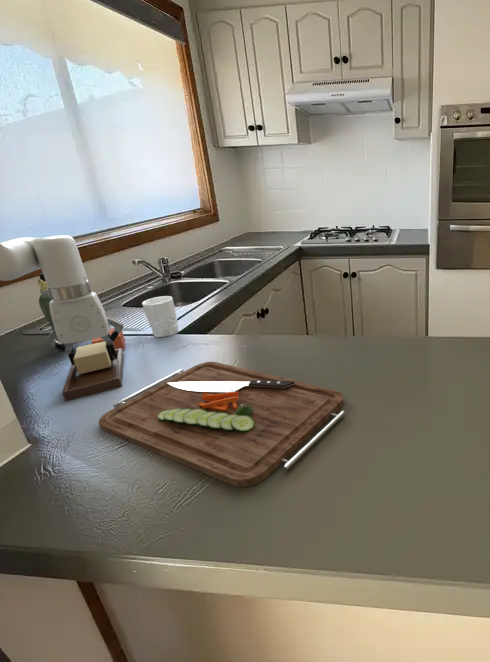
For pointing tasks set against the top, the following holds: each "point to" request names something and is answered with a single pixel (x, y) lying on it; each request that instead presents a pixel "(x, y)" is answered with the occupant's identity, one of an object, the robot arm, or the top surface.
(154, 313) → the white cup
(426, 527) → the top surface
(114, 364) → the tray
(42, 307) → the vegetable
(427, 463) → the top surface
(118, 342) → the terracotta pad
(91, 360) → the beige pad
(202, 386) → the chopping board
